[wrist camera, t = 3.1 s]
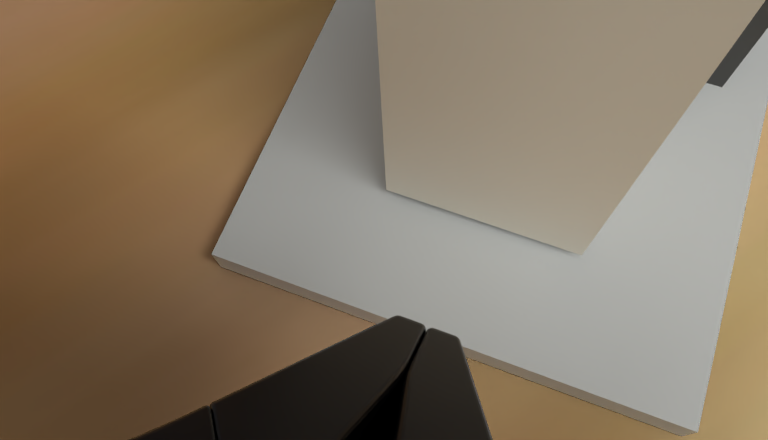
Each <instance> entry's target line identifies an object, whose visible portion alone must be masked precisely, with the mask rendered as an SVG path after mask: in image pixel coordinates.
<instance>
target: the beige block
mask: <svg viewBox="0 0 768 440" xmlns="http://www.w3.org/2000/svg"><path fill="white" fill-rule="evenodd" d="M764 2H765V0H375V6H376V23H377V40H378V57H379V74H380V92H381V109H382V126H383V143H384V160H385V177H386V190H388V191H391V192H394V193H397V194H400V195H403V196H406V197H409V198H412V199H415V200H418V201H421V202H424V203H427V204H430V205H433V206H436V207H439V208H442V209H445V210H448V211H451V212H454V213H457V214H460V215H463V216H466V217H469V218H472V219H475V220H478V221H481V222H484V223H487V224H490V225H493V226H496V227H498V228H501V229H504V230H507V231H510V232H513V233H516V234H519V235H522V236H525V237H528V238H531V239H534V240H537V241H540V242H543V243H546V244H549V245H552V246H555V247H558V248H561V249H564V250H567V251H570V252H573V253H576V254H579V255H582V254H583V253H584V252H585V250H586V249H587V247H588V246H589V245H590V243H591V242H592V240H593V239H594V238H595V236H596V235H597V233H598V232H599V231H600V229H601V228H602V227H603V225H604V224H605V222H606V221H607V220H608V218H609V217H610V215H611V214H612V213H613V211H614V210H615V208H616V207H617V206H618V204H619V203H620V202H621V200H622V199H623V197H624V196H625V195H626V193H627V192H628V190H629V189H630V188H631V186H632V185H633V184H634V182H635V181H636V179H637V178H638V177H639V175H640V174H641V172H642V171H643V170H644V168H645V167H646V165H647V164H648V163H649V161H650V160H651V159H652V157H653V156H654V154H655V153H656V152H657V150H658V149H659V147H660V146H661V145H662V143H663V142H664V141H665V139H666V138H667V136H668V135H669V134H670V132H671V131H672V129H673V128H674V127H675V125H676V124H677V122H678V121H679V120H680V118H681V117H682V116H683V114H684V113H685V111H686V110H687V109H688V107H689V106H690V104H691V103H692V102H693V100H694V99H695V97H696V96H697V95H698V93H699V92H700V91H701V89H702V88H703V86H704V85H705V84H706V82H707V81H708V79H709V78H710V77H711V75H712V74H713V73H714V71H715V70H716V68H717V67H718V66H719V64H720V63H721V61H722V60H723V59H724V57H725V56H726V54H727V53H728V52H729V50H730V49H731V48H732V46H733V45H734V43H735V42H736V41H737V39H738V38H739V36H740V35H741V34H742V32H743V31H744V30H745V28H746V27H747V25H748V24H749V23H750V21H751V20H752V18H753V17H754V16H755V14H756V13H757V11H758V10H759V9H760V7H761V6H762V5H763V3H764Z"/></svg>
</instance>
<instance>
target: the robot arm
mask: <svg viewBox="0 0 768 440" xmlns="http://www.w3.org/2000/svg"><path fill="white" fill-rule="evenodd" d="M129 440H492V436H491V433H490V430H489V427H488V424H487V421H486V418H485V415H484V412H483V409H482V406H481V403H480V400H479V397H478V394H477V390H476V387H475V384H474V381H473V378H472V375H471V372H470V369H469V366H468V363H467V360H466V357H465V354H464V351H463V348H462V344H461V341H460V339H459V338H458V337H457V336H455V335H452V334H449V333H447V332H444V331H441V330H438V329H436V328H429V329H427V331H426V327H425V326H424V325H423V324H422V323H419V322H416V321H414V320H411V319H408V318H405V317H403V316H400V315H396V316H393V317H391V318H389V319H386V320H384V321H382V322H380V323H378V324H376V325H374V326H372V327H370V328H368V329H366V330H363V331H361V332H359V333H357V334H355V335H353V336H351V337H349V338H347V339H345V340H342V341H340V342H338V343H336V344H334V345H332V346H330V347H328V348H326V349H324V350H321V351H319V352H317V353H315V354H313V355H311V356H309V357H307V358H305V359H303V360H300V361H298V362H296V363H294V364H292V365H290V366H288V367H286V368H284V369H282V370H280V371H277V372H275V373H273V374H271V375H269V376H267V377H265V378H263V379H261V380H259V381H256V382H254V383H252V384H250V385H248V386H246V387H244V388H242V389H240V390H238V391H235V392H233V393H231V394H229V395H227V396H225V397H223V398H221V399H219V400H217V401H214V402H212V403H211V404H210V407H209V406H203V407H201V408H199V409H197V410H195V411H193V412H191V413H189V414H187V415H184V416H182V417H180V418H178V419H176V420H173V421H171V422H169V423H167V424H164V425H162V426H160V427H158V428H155V429H153V430H151V431H149V432H146V433H144V434H142V435H139V436H137V437H134V438H132V439H129Z"/></svg>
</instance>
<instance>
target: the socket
mask: <svg viewBox="0 0 768 440" xmlns="http://www.w3.org/2000/svg"><path fill="white" fill-rule="evenodd" d="M767 102H768V0H765V2H764V3H763V5H762V6H761V7H760V9H759V10H758V11H757V13H756V14H755V16H754V17H753V18H752V20H751V21H750V23H749V24H748V25H747V27H746V28H745V30H744V31H743V32H742V34H741V35H740V36H739V38H738V39H737V41H736V42H735V43H734V45H733V46H732V48H731V49H730V50H729V52H728V53H727V54H726V56H725V57H724V59H723V60H722V61H721V63H720V64H719V66H718V67H717V68H716V70H715V71H714V73H713V74H712V75H711V77H710V78H709V79H708V81H707V82H706V84H705V85H704V86H703V88H702V89H701V91H700V92H699V93H698V95H697V96H696V97H695V99H694V100H693V102H692V103H691V104H690V106H689V107H688V109H687V110H686V111H685V113H684V114H683V116H682V117H681V118H680V120H679V121H678V122H677V124H676V125H675V127H674V128H673V129H672V131H671V132H670V134H669V135H668V136H667V138H666V139H665V141H664V142H663V143H662V145H661V146H660V147H659V149H658V150H657V152H656V153H655V154H654V156H653V157H652V159H651V160H650V161H649V163H648V164H647V165H646V167H645V168H644V170H643V171H642V172H641V174H640V175H639V177H638V178H637V179H636V181H635V182H634V184H633V185H632V186H631V188H630V189H629V190H628V192H627V193H626V195H625V196H624V197H623V199H622V200H621V202H620V203H619V204H618V206H617V207H616V208H615V210H614V211H613V213H612V214H611V215H610V217H609V218H608V220H607V221H606V222H605V224H604V225H603V227H602V228H601V229H600V231H599V232H598V233H597V235H596V236H595V238H594V239H593V240H592V242H591V243H590V245H589V246H588V247H587V249H586V250H585V252H584V253H583V254H582V255H579V254H576V253H573V252H570V251H567V250H564V249H561V248H558V247H555V246H552V245H549V244H546V243H543V242H540V241H537V240H534V239H531V238H528V237H525V236H522V235H519V234H516V233H513V232H510V231H507V230H504V229H501V228H498V227H496V226H493V225H490V224H487V223H484V222H481V221H478V220H475V219H472V218H469V217H466V216H463V215H460V214H457V213H454V212H451V211H448V210H445V209H442V208H439V207H436V206H433V205H430V204H427V203H424V202H421V201H418V200H415V199H412V198H409V197H406V196H403V195H400V194H397V193H394V192H391V191H388V190H386V177H385V160H384V143H383V126H382V109H381V92H380V74H379V57H378V40H377V23H376V6H375V0H336V2H335V4H334V6H333V8H332V10H331V12H330V14H329V16H328V18H327V20H326V22H325V24H324V26H323V28H322V30H321V33H320V35H319V37H318V39H317V41H316V43H315V45H314V47H313V49H312V51H311V53H310V55H309V57H308V59H307V61H306V63H305V65H304V67H303V69H302V71H301V73H300V75H299V77H298V79H297V81H296V83H295V85H294V87H293V89H292V91H291V93H290V95H289V98H288V100H287V102H286V104H285V106H284V108H283V110H282V112H281V114H280V116H279V118H278V120H277V122H276V124H275V126H274V128H273V130H272V132H271V134H270V136H269V138H268V140H267V142H266V144H265V146H264V148H263V150H262V152H261V154H260V156H259V158H258V160H257V163H256V165H255V167H254V169H253V171H252V173H251V175H250V177H249V179H248V181H247V183H246V185H245V187H244V189H243V191H242V193H241V195H240V197H239V199H238V201H237V203H236V205H235V207H234V209H233V211H232V213H231V215H230V217H229V219H228V221H227V223H226V225H225V228H224V230H223V232H222V234H221V236H220V238H219V240H218V242H217V244H216V246H215V248H214V250H213V252H212V254H211V255H212V256H213V257H214V258H215V260H216V261H217V262H218V263H219V265H220V266H221V267H223V268H226V269H229V270H231V271H234V272H237V273H239V274H242V275H245V276H248V277H250V278H253V279H256V280H258V281H261V282H264V283H267V284H269V285H272V286H275V287H277V288H280V289H283V290H286V291H288V292H291V293H294V294H296V295H299V296H302V297H305V298H307V299H310V300H313V301H315V302H318V303H321V304H324V305H326V306H329V307H332V308H334V309H337V310H340V311H343V312H345V313H348V314H351V315H353V316H356V317H359V318H362V319H364V320H367V321H370V322H372V323H375V324H378V323H380V322H382V321H384V320H386V319H389V318H391V317H393V316H396V315H400V316H403V317H405V318H408V319H411V320H414V321H416V322H419V323H422V324H423V325H424V326H425V327H426V331H427V329H429V328H436V329H438V330H441V331H444V332H447V333H449V334H452V335H455V336H457V337H458V338H459V339H460V341H461V344H462V348H463V351H464V354H465V357H467V358H470V359H473V360H476V361H478V362H481V363H484V364H487V365H489V366H492V367H495V368H497V369H500V370H503V371H506V372H508V373H511V374H514V375H516V376H519V377H522V378H525V379H527V380H530V381H533V382H535V383H538V384H541V385H544V386H546V387H549V388H552V389H554V390H557V391H560V392H563V393H565V394H568V395H571V396H573V397H576V398H579V399H582V400H584V401H587V402H590V403H592V404H595V405H598V406H601V407H603V408H606V409H609V410H611V411H614V412H617V413H620V414H622V415H625V416H628V417H630V418H633V419H636V420H639V421H641V422H644V423H647V424H649V425H652V426H655V427H658V428H660V429H663V430H666V431H668V432H671V433H674V434H677V435H679V436H685V435H689V434H693V433H697V432H698V429H699V424H700V420H701V415H702V410H703V406H704V401H705V396H706V391H707V387H708V382H709V377H710V372H711V368H712V363H713V358H714V353H715V349H716V344H717V339H718V334H719V330H720V325H721V320H722V316H723V311H724V306H725V301H726V297H727V292H728V287H729V282H730V278H731V273H732V268H733V263H734V259H735V254H736V249H737V245H738V240H739V235H740V230H741V226H742V221H743V216H744V211H745V207H746V202H747V197H748V192H749V188H750V183H751V178H752V173H753V169H754V164H755V159H756V155H757V150H758V145H759V140H760V136H761V131H762V126H763V121H764V117H765V112H766V107H767Z"/></svg>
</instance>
